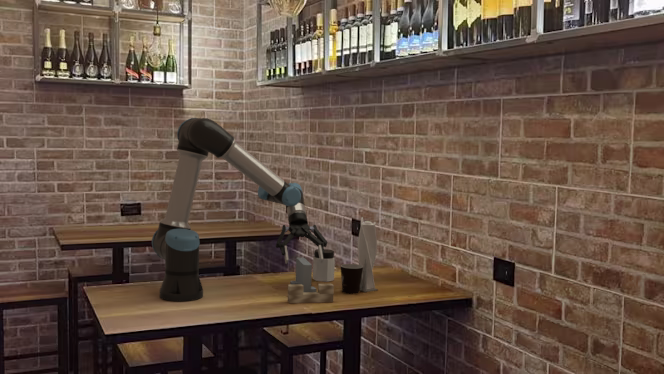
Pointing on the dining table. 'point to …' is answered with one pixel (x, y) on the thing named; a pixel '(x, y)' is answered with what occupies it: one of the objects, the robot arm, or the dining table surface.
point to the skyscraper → (367, 254)
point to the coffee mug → (351, 278)
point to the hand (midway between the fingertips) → (304, 261)
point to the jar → (324, 266)
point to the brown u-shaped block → (310, 294)
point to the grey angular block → (304, 274)
